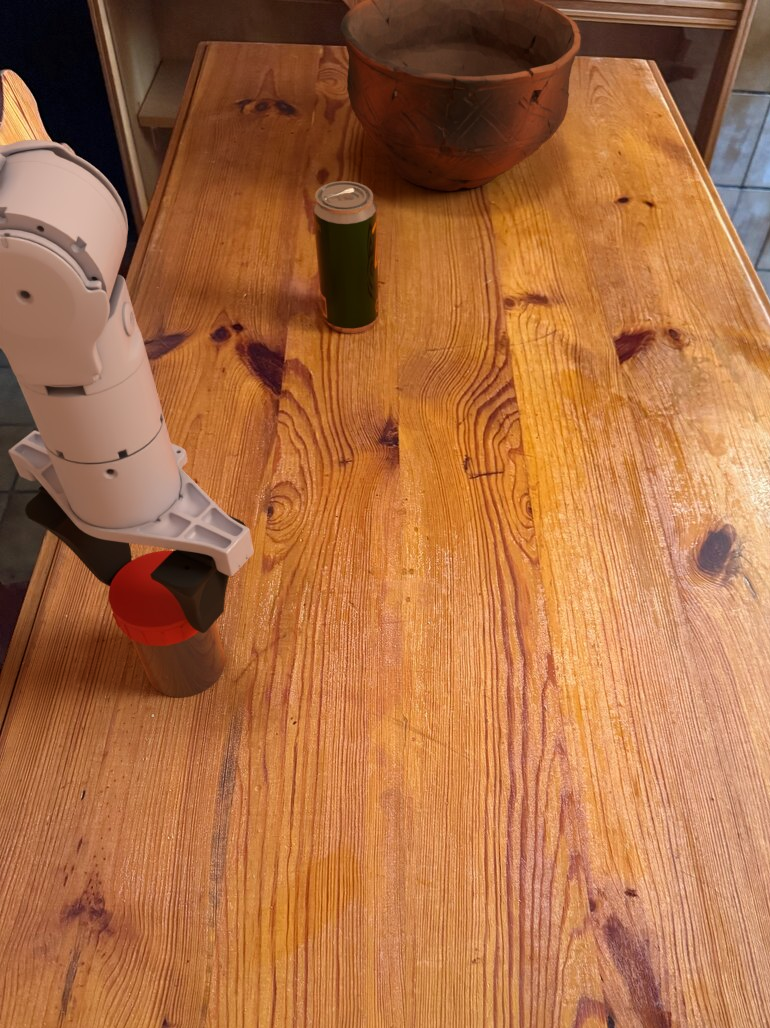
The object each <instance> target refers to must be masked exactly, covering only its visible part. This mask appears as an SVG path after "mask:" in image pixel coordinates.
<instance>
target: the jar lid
mask: <svg viewBox="0 0 770 1028" xmlns="http://www.w3.org/2000/svg"><path fill="white" fill-rule="evenodd" d="M173 551H174V550H159V551H158V550H157V551H152V552H148V553H145V554H142V555H140V556H137V557H136V558H134V559H132V561H130V562H129V563H127V564H126V565H125V566H124V567H123V568H121V569H120V571H119V572H118V573H117V574H116V575H115V577H114V579H113V580H112V582H111V585H110V586H109V589H108V603H109V606H110V609H111V610H112V617H113V619H114V621H115V625H116V627H117V628H119V629H120V630H121V632H122V633H123V634H124V635H125V636H126V637H127V639H129V640H131V641H132V640H134V641H136V642H138V643H142V644H145V645H150V646H167V645H171V644H176V643H179V642H182V641H184V640H187V639H188V638H190V637H192V636H194V635H195V634H196V633H198V632H199V631H197V630H195V629H194V628H193V627H192V626H191V625H190V624H189V622H188V621H187V619H186V617H185V615H184V613H183V610H182V608H181V606H180V604H179V602H178V601H177V600H176V598H175V597H174V595H173V594H172V593H171V592H170V591H169V590H168V589H167V588H165V587H164V586H163V585H162V584H160V583H158V582H156V581H154V580H152V578H151V575H150V574H151V573H152V572H153V571H154V570H155V569H156V568H157V567H158V566H159V565H160V564H161V563H162V562H163V561H164V560H165V559H166V558H167V557H168V556H169V555H170V554H171V553H172V552H173Z"/></svg>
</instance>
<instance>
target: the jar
mask: <svg viewBox="0 0 770 1028" xmlns="http://www.w3.org/2000/svg"><path fill="white" fill-rule="evenodd" d="M216 621H217V620H216ZM216 621H215V622H214V623H213V624H212V625H211V627H210V628H209V629H208V630H207V631H206V632H205V633H201V632H198V633H196V634H195V635H194V636H192V637H190V638H188V639H187V640H184V641H182V642H179V643H176V644H171V645H167V646H150V645H145V644H142V643H138V642H136V641H134V640H132V639H131V641H132V644H133V647H134V649H135V652H136V654H137V656H138V659H139V661H140V663H141V666H142V668H143V671H144V673H145V675H146V677H147V679H148V682H149V684H150V685H151V687H152V688H154V689H155V691H157V692H158V693H160V694H163V695H165V696H168V697H172V698H173V697H174V698H189V697H194V696H196V695H200V694H201V693H203V692H205V691H207V690H209V689H210V688H211V687H212V686H213V685H215V684H216V682H217V681H219V679H220V677H221V676H222V674H223V673H224V670H225V666H226V654H225V651H224V646H223V643H222V639H221V636H220V633H219V628H218V625H217V623H216Z"/></svg>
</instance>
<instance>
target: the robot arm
mask: <svg viewBox="0 0 770 1028" xmlns="http://www.w3.org/2000/svg"><path fill="white" fill-rule="evenodd" d="M128 231H129V225H128V215H127V211H126V208H125V206H124V203H123V200H122V198H121V196H120V195H119V193H118V190H116V188H115V187H114V185H113V184H112V183H111V181H110V180H109V179H108V178H107V177H106V176H105V175H104V173H102V172H101V171H100V170H99V169H98V168H96V167H95V166H94V165H92V164H91V163H90V162H88V161H87V160H85V159H83V158H82V157H80V156H78V155H76V154H74V153H73V152H71V151H70V150H69V149H67V148H66V147H65V146H63V145H62V144H60V143H58V142H56V141H51V140H46V139H45V140H44V139H23V140H19V141H15V142H12V143H9V144H2V145H1V144H0V349H1V351H2V352H3V353H4V355H5V357H6V359H7V361H8V364H9V366H10V368H11V370H12V373H13V375H14V376H15V378H16V381H17V383H18V385H19V387H20V390H21V392H22V394H23V397H24V399H25V402H26V405H27V406H28V409H29V412H30V413H31V416H32V418H33V421H34V423H35V426H36V428H37V430H32V431H31V432H30V433H29V434H28V435H26V436H25V437H24V438H22V439H21V440H20V441H19V442H17V443H16V444H15V445H14V446H12V447H11V448H10V449H8V451H7V452H8V455H9V457H10V458H11V461H12V462H13V465H14V467H15V469H16V471H17V473H18V475H19V477H21V478H23V479H25V480H27V481H29V482H36V481H38V482H39V485H40V486H39V487H38V490H39V492H38V494H36V495H35V496H34V497H33V498H31V499H30V500H29V501H28V502H27V504H26V505H25V509H24V511H25V515H26V518H27V519H28V520H30V521H32V522H34V523H36V524H38V525H40V526H41V527H42V528H44V529H45V530H47V531H48V532H50V533H51V534H52V535H54V536H55V537H56V538H57V539H59V540H60V541H61V542H62V543H63V544H64V545H65V546H67V547H68V548H69V549H70V550H71V551H72V552H73V554H74V555H76V556H77V558H78V559H79V560H80V561H81V562H82V563H83V564H84V566H85V567H86V568H87V569H88V570H89V571H90V573H91V574H92V575H93V576H94V577H95V578H96V579H97V580H99V581H100V582H101V583H102V584H104V585H106V586H108V587H110V585H111V582H112V580H113V579H114V577H115V575H116V574H117V573H118V572H119V571H120V569H121V568H123V567H124V566H125V565H126V564H127V563H129V562H130V561H132V560H133V557H132V550H131V545H130V544H132V545H138V546H139V545H141V546H147V547H154V548H162V549H169V550H172V551H173V552H172V553H171V554H170V555H169V556H168V557H167V558H166V559H165V560H164V561H163V562H162V563H161V564H160V565H159V566H158V567H157V568H156V569H155V570H154V571H153V572H152V573H151V574H150V575H151V578H152V580H154V581H156V582H158V583H160V584H162V585H163V586H164V587H165V588H167V589H168V590H169V591H170V592H171V593H172V594H173V595H174V597H175V598H176V600H177V601H178V602H179V604H180V606H181V608H182V610H183V613H184V615H185V617H186V619H187V621H188V622H189V624H190V625H191V626H192V627H193V628H194V629H195V630H197V631H199V632H201V633H205V632H206V631H207V630H208V629H209V628H210V627H211V625H212V624H213V623H214V622H215V621H218V619H219V618H220V617H221V615H223V613H224V611H225V602H226V593H227V587H228V582H229V578H232V577H233V576H235V575H236V573H237V572H238V571H240V569H242V567H243V566H244V565H245V564H246V563H247V562H248V560H249V559H250V558H251V557H252V556H253V555H254V553H255V551H254V546H253V540H252V535H251V530H250V527H248V526H246V523H244V522H243V521H242V520H240V519H238V518H236V517H234V516H232V515H231V514H228V513H226V512H225V511H224V510H223V509H222V508H221V507H220V506H219V505H218V504H217V503H216V502H215V500H213V499H212V498H211V497H210V496H209V494H207V493H206V492H205V491H204V490H203V489H202V488H201V486H199V485H198V484H197V482H195V481H194V480H193V478H192V477H190V476H189V474H188V473H187V472H186V471H184V469H183V467H185V465H186V464H187V463H188V461H189V459H188V454H187V451H186V449H184V448H183V447H181V446H180V445H177V444H175V443H173V442H171V438H170V435H169V431H168V427H167V424H166V420H165V417H164V412H163V408H162V404H161V401H160V396H159V394H158V390H157V386H156V383H155V379H154V378H155V377H154V375H153V371H152V367H151V364H150V360H149V357H148V352H147V349H146V345H145V341H144V338H143V334H142V332H141V329H140V327H139V325H138V323H137V319H136V315H135V311H134V307H133V304H132V300H131V297H130V294H129V293H130V292H129V289H128V286H127V281H126V279H125V278H124V276H122V275H121V274H118V273H119V270H120V268H121V265H122V261H123V258H124V255H125V251H126V248H127V241H128Z"/></svg>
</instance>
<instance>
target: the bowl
mask: <svg viewBox="0 0 770 1028" xmlns="http://www.w3.org/2000/svg"><path fill="white" fill-rule="evenodd" d="M339 27H340V34H341V36H342V38H343V40H344V42H345V43H344V44H345V46H346V50H347V54H348V69H347V80H346V84H347V88H346V90H347V94H348V99H349V102H350V106H351V109H352V111H353V113H354V115H355V117H356V118H357V120H358V122H359V123H360V125H361V127H362V128H363V130H364V131H365V133H366V134H367V135H368V137H369V138H370V139H371V141H372V142H373V143H374V145H376V147H377V148H378V149H379V150H380V152H382V153H383V155H384V156H385V157H386V158H387V159H388V160H389V161H390V163H391V164H392V166H393V168H395V170H396V171H397V173H398V174H399V176H400V177H401V178H402V179H403V180H405V181H407V182H409V183H411V184H413V185H416V186H418V187H422V188H426V189H431V190H435V191H444V192H451V191H457V190H459V189H462V188H464V189H477V188H479V187H483V186H484V185H486V184H489V183H490V182H491V181H493V180H494V179H496V178H497V177H499V176H500V175H502V174H504V173H506V172H507V171H510V170H511V169H512V168H514V167H515V166H517V165H518V164H521V162H523V161H525V160H526V159H527V158H529V157H530V156H532V155H533V154H534V153H535V152H537V151H538V150H539V148H540V147H541V146H543V145H544V144H545V143H546V142H547V141H549V140H550V139H551V138H552V137H553V135H555V133H556V132H558V131H557V130H558V129H559V127H561V126H562V124H563V122H564V121H565V118H566V115H567V112H568V107H569V97H570V93H569V88H570V79H571V72H572V67H573V65H574V61H575V58H576V56H577V54H578V53H579V52H580V50H581V45H582V34H581V31H580V28H579V26H578V24H577V23H576V22H575V21H574V20H573V19H572V18H570V17H569V16H568V15H566V14H565V13H563V12H562V11H560V10H559V9H558V8H556V7H555V6H554V5H552V4H549V3H547V2H544V1H541V0H363V1H361V2H359V3H357V4H355V5H354V6H353V7H351V8H350V9H349V10H348V11H347V12H346V13H345V15H344V16H343V18H342V19H341V22H340V25H339Z"/></svg>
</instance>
